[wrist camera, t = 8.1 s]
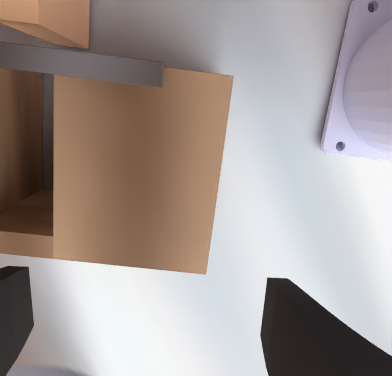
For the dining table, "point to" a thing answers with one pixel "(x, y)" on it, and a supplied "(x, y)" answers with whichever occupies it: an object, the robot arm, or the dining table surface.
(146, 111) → the wooden block
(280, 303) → the robot arm
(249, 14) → the dining table surface
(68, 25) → the tall wooden plank
